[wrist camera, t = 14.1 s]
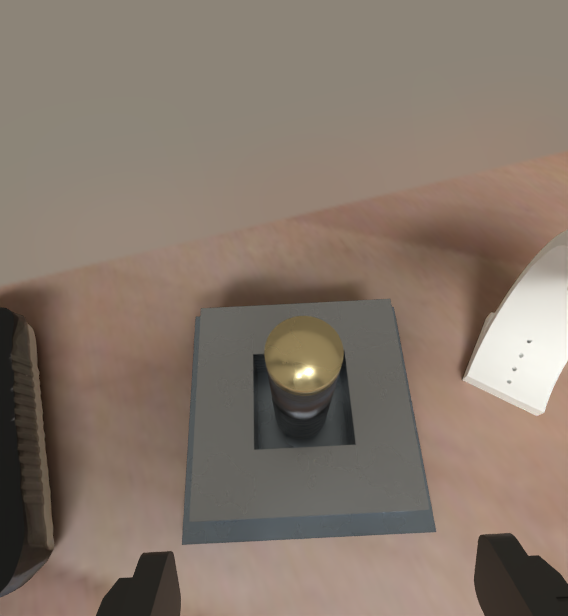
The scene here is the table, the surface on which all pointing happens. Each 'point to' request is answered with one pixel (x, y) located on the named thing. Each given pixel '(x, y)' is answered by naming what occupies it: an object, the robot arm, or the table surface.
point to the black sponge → (21, 458)
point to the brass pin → (302, 373)
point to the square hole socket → (301, 452)
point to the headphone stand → (527, 334)
